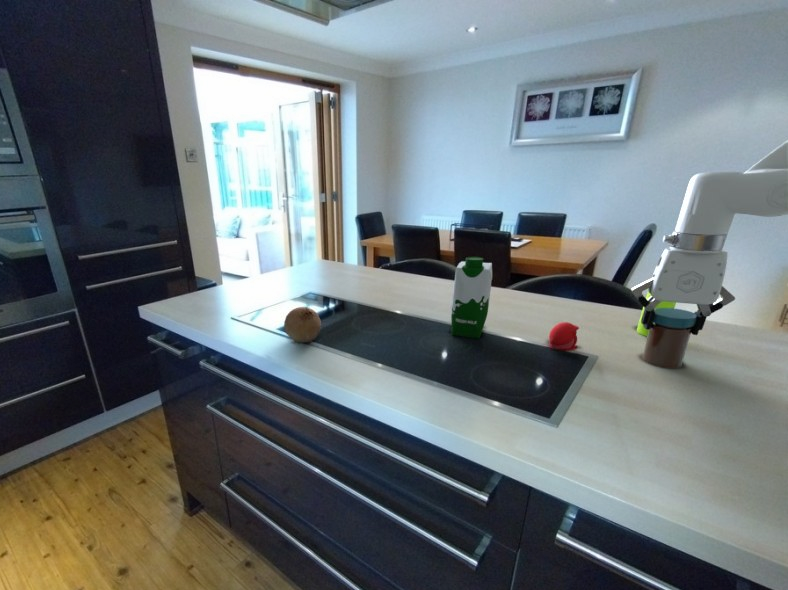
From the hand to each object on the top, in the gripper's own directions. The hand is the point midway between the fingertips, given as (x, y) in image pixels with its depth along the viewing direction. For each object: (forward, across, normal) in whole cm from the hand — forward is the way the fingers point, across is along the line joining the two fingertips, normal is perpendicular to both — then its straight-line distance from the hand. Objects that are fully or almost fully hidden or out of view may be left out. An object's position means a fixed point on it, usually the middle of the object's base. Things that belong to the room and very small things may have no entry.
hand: (669, 329), depth 80 cm
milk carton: (+8, -40, +4) cm, 41 cm away
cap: (+8, -18, +2) cm, 20 cm away
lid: (-3, 0, 0) cm, 3 cm away
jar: (+8, 0, 0) cm, 8 cm away
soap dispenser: (+8, +3, +20) cm, 22 cm away
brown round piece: (+8, -78, -18) cm, 80 cm away
